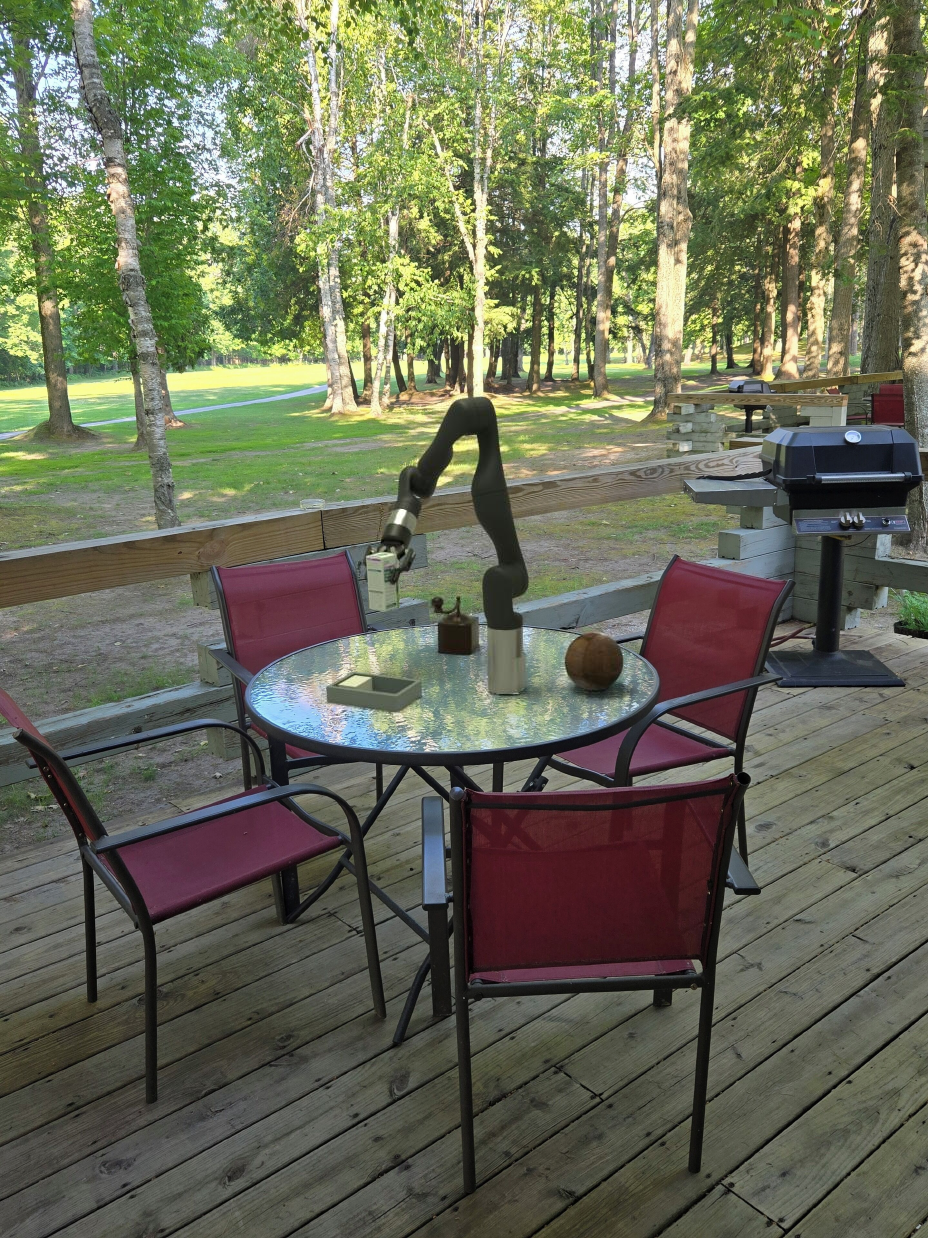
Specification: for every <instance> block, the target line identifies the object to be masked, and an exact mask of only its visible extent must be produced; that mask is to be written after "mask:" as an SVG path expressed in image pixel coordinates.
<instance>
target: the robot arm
mask: <svg viewBox="0 0 928 1238" xmlns="http://www.w3.org/2000/svg"><path fill="white" fill-rule="evenodd" d="M441 421H442V422H441V424H440V426H439V428H438V429H437V432H436V434H435V437H434V438H433V440H432V442H431V444H429V446H428V447H427V449H426V450H425V452H424V453H423V454H422V455H421V456H420V458H419V459H418V461H417V464H416V465H417V466H416V465H412V464H410V465H406V466H405V467H403V468H402V470H401V471H400V474H399V476H398V482H397V484H398V486H397V487H398V489H397V497H396V502H395V504H394V508H393V509H392V512H391V514H390V516H389V518H388V520H387V523H386V526H385V528H384V530H383V533H382V536H381V538H380V544H379V545H378V546H377V547H372V546H371V545H368V546H367V547H366V550H365V554H364V557H363V559H362V565H363V566H364V567H365V569H366V571H365V574H364V579H365V581H366V582H367V584H368V577H367V562H366V556H369V555H373V554H378V553H383V552H384V553H393V554H396V559H395V561H396V562H395V564H394V565H395V569H393V572H392V574H391V577H390V580H389V581H390V583H391V584H392V585H395V583H397V582H398V583H399V578H400V577H401V574H402V573H403V572H405V573H408V572H409V571H410V570H411V568H412V564H413V562H414V560H415V559H416V556H417V554H416V552H415V550H414V549H413V547H409V546H410V544H411V540H412V537H413V535H414V533H415V531H416V530H415V529H416V526H417V522H418V520H419V516H420V514H421V511H422V507H423V505H422V501H421V500H420V499H422V500H427V499H429V498H431V497H432V496H433V495H434V493H435V492H436V488H437V484H438V481H439V478H440V476H441V475H442V474H443V473H444V471H445V470H446V469H447V468H448V466H449V465H450V464H451V462H452V460H453V457H454V447H453V445H454V444H455V443H456V442H457V441H458V440H460V439H461V438H462V437H464V436H465V437H470V436H476V439H477V445H478V446H477V447H478V461H477V463H476V464H477V465H476V468H475V471H474V475H473V478H472V480H471V486H470V494H471V498H472V504H473V509H474V510H473V511H474V513H475V516H476V519H477V521H478V522H479V524H480V525H481V527H482V528H483V530H484V531H485V532H486V534H487V535H488V537H489V538H490V540H491V542H492V544H493V546H494V549H495V552H496V556H497V561H498V564H497V565H493V566H491V567H489V568H487V569H486V571H485V572H484V573H483V577H482V584H481V585H482V586H481V588H482V590H481V591H482V604H483V605H482V608H483V614H484V618H485V620H486V636H487V637H486V639H487V640H486V645H487V647H486V650H487V651H486V652H487V653H486V654H487V656H486V657H487V658H486V659H487V665H486V666H487V690H489V691H490V692H489V691H488V692H489V693H491V692H492V693H491V694H494V693H496V694H495V695H499V694H511V693H519V692H520V691H521V690H522V689H523V688H525V687H526V688H527V654H526V652H524V617H523V615H522V614H521V613H520V612H518V611H515V610H514V606H513V605H514V604H513V603H514V602H513V600H514V599H516V598H519V597H521V596H523V595H524V594H526V592H527V591H528V588H529V585H530V584H529V582H530V579H529V578H530V577H529V572H528V568H527V566H526V563H525V559H524V557H523V553H522V549H521V546H520V542H519V539H518V535H517V529H516V526H515V521H514V516H513V511H512V506H511V498H510V494H509V490H508V486H507V481H506V477H505V471H504V466H503V465H504V464H503V460H502V454H501V445H500V437H499V428H498V427H499V425H498V418H497V412H496V409H495V407H494V404H493V402H492V401H491V399H490V398H489V397H487V396H473V397H463V398H459V399H456V400H454V401H453V402H452V403H451V404H450V405H449V407H448V409H447V411H446V413H445V416H444V417H443V419H442V420H441ZM403 557H404V559H403ZM402 559H403V561H402ZM526 688H525V689H526ZM520 693H521V692H520ZM520 693H519V694H520Z"/></svg>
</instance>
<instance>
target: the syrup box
mask: <svg viewBox="0 0 928 1238" xmlns="http://www.w3.org/2000/svg"><path fill="white" fill-rule="evenodd" d="M377 553H378V552H377ZM377 553H376V554H373V555H369V556H366V562H367V569H366V571H367V577H368V583H367V590H368V602H369V603H368V604H369V609H370V610H374V611H378V612H384V613H385V612H387V611H390V610H391V611H392V610H394V609H397V608H399V607H400V597H399V596H400V593H399V581H398V582H397V583H395V585H392V584H391V583H390V581H389V580H390V577H391V574H392V572H393V569H395V565H394V564H395V562H396V561H395V559H396V554H393V553H384V552H383V553H378V554H377Z"/></svg>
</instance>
